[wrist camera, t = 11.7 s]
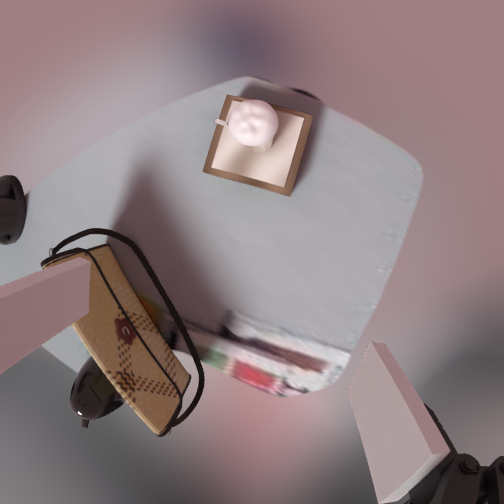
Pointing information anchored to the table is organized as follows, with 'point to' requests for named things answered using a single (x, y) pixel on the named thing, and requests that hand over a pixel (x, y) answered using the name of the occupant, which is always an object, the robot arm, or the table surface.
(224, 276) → the table surface
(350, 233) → the table surface
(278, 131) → the dock
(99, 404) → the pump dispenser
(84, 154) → the table surface
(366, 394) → the robot arm
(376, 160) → the table surface
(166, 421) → the clutch purse
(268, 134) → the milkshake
